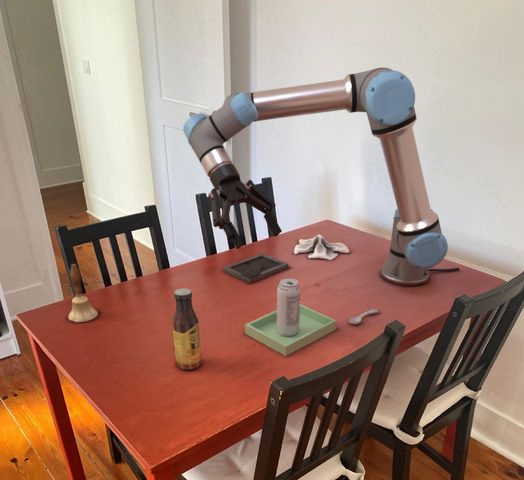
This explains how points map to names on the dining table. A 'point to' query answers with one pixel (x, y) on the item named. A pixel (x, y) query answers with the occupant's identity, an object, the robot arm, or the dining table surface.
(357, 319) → the spoon
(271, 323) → the tray
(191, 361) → the sauce bottle
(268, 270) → the picture frame
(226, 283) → the dining table surface
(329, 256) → the cloth
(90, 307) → the hand bell
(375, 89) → the robot arm
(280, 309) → the energy drink can
